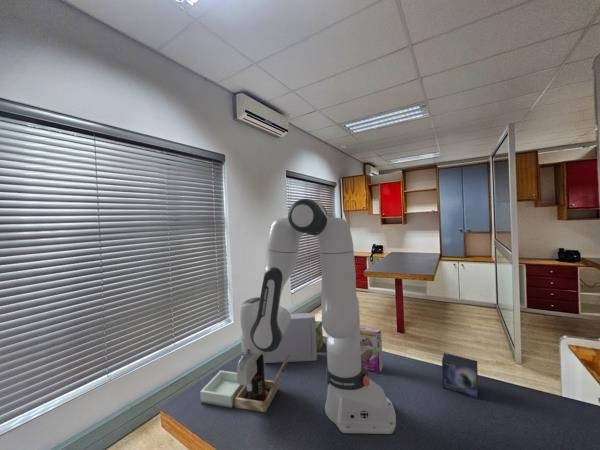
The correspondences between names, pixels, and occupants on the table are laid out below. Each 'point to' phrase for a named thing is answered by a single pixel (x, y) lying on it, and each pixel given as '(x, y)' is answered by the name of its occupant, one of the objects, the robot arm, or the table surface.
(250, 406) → the frame
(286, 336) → the game console
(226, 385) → the tray
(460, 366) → the small box
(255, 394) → the deodorant
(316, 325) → the chalk box
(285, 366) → the beige flat board
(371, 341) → the candy bar box
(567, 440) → the table surface
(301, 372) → the table surface
